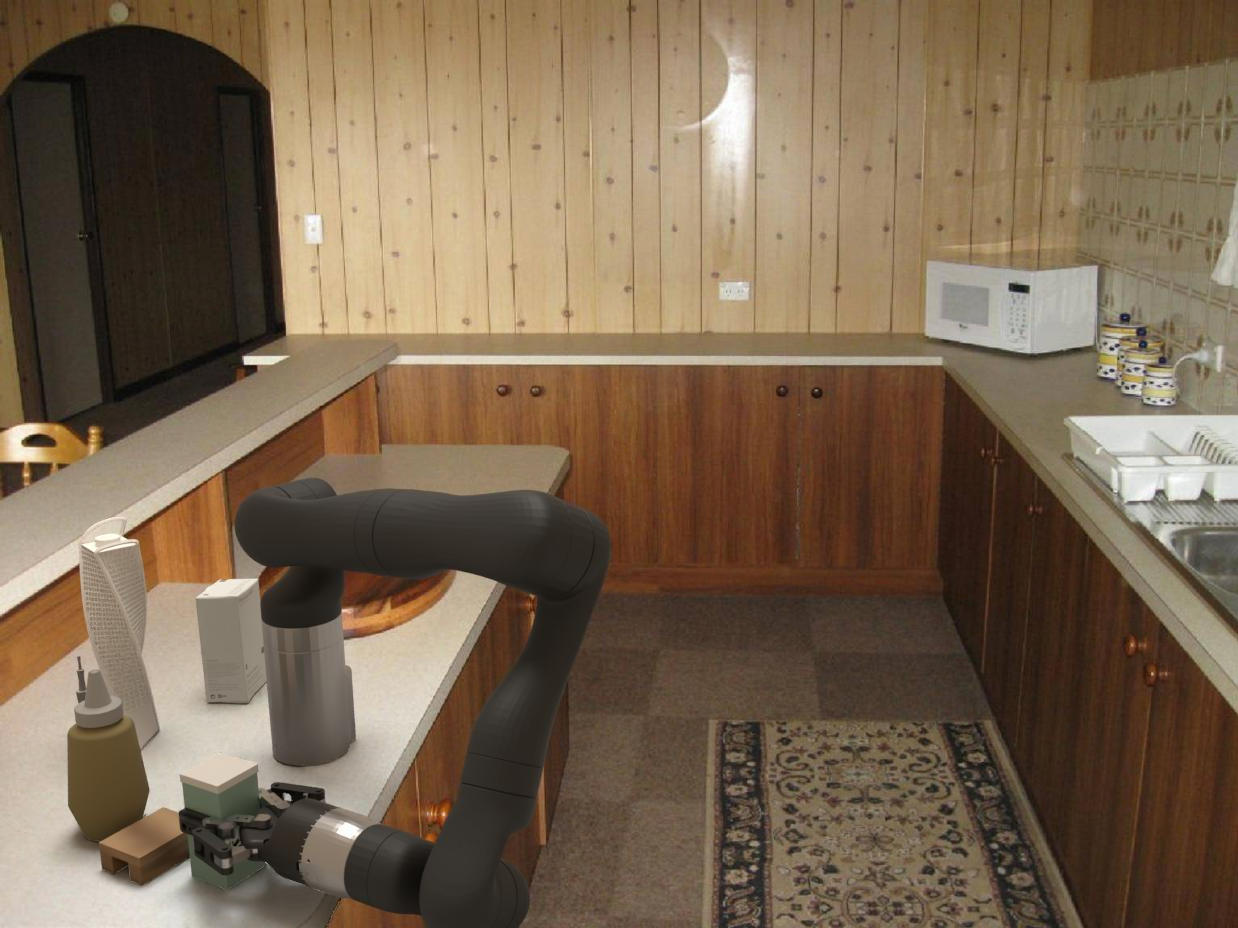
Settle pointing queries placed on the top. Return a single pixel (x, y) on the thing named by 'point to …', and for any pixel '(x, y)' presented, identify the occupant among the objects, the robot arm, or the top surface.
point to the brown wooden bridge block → (146, 847)
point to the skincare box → (231, 640)
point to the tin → (221, 807)
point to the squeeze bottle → (104, 765)
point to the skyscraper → (118, 623)
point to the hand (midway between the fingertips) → (204, 805)
